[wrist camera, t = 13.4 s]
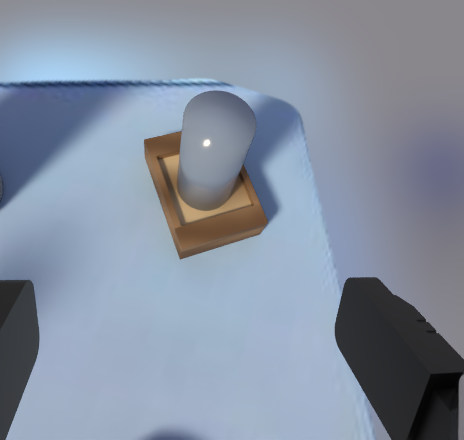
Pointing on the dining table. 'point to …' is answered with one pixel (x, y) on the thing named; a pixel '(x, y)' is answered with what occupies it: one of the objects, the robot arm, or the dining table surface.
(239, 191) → the wooden tray
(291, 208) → the dining table surface
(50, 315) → the dining table surface
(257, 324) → the dining table surface
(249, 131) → the grey domed cylinder
